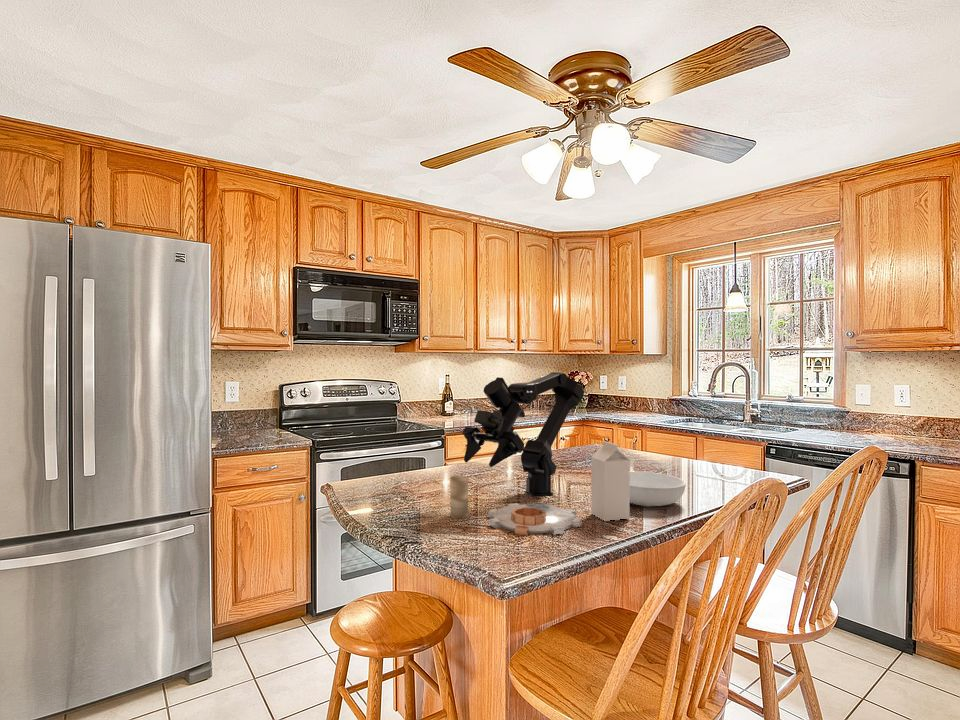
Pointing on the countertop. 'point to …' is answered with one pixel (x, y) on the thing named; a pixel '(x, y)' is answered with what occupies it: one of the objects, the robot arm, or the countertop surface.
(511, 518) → the sprocket wheel
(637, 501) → the serving bowl
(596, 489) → the milk carton
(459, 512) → the drive pin
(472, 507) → the countertop surface
